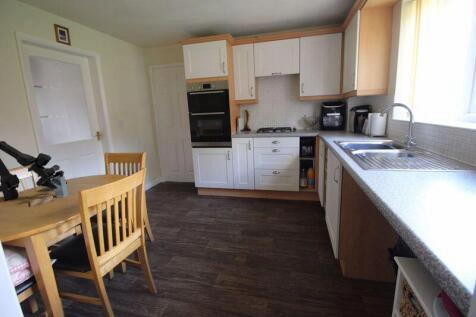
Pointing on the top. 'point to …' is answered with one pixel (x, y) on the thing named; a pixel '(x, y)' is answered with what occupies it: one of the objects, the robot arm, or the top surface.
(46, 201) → the walnut pad
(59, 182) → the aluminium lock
